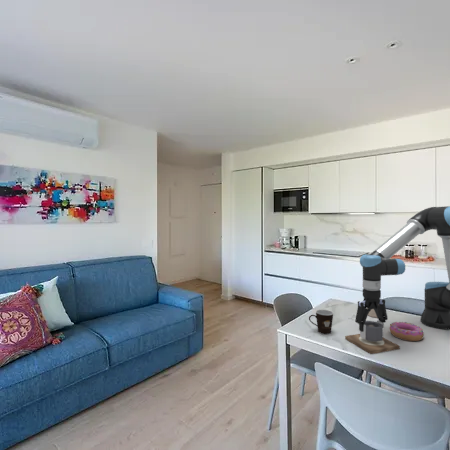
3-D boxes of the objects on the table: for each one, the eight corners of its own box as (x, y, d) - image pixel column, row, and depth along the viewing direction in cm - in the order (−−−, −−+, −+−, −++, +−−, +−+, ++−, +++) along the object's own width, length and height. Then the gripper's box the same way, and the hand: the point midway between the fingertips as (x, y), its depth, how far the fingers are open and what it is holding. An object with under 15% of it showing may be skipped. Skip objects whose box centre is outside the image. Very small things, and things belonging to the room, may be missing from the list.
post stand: (372, 334, 143) (372, 317, 143) (399, 348, 128) (399, 329, 127) (345, 339, 138) (345, 321, 138) (370, 354, 123) (370, 334, 123)
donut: (407, 344, 133) (407, 333, 132) (382, 332, 146) (382, 322, 146) (431, 340, 136) (431, 330, 136) (405, 328, 150) (405, 319, 150)
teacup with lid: (386, 317, 166) (387, 298, 166) (372, 318, 165) (372, 298, 165) (374, 310, 178) (374, 292, 177) (360, 311, 177) (360, 293, 177)
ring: (371, 332, 139) (371, 319, 138) (387, 339, 130) (387, 326, 130) (356, 334, 136) (356, 322, 136) (371, 342, 127) (371, 329, 127)
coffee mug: (333, 329, 150) (333, 310, 150) (332, 335, 142) (332, 316, 142) (311, 326, 155) (311, 308, 155) (308, 332, 147) (308, 313, 147)
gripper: (358, 292, 126) (358, 343, 126) (397, 288, 132) (396, 336, 132) (346, 288, 133) (346, 336, 133) (383, 285, 139) (383, 330, 140)
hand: (371, 336), depth 133 cm, fingers closed on ring, 9 cm apart
